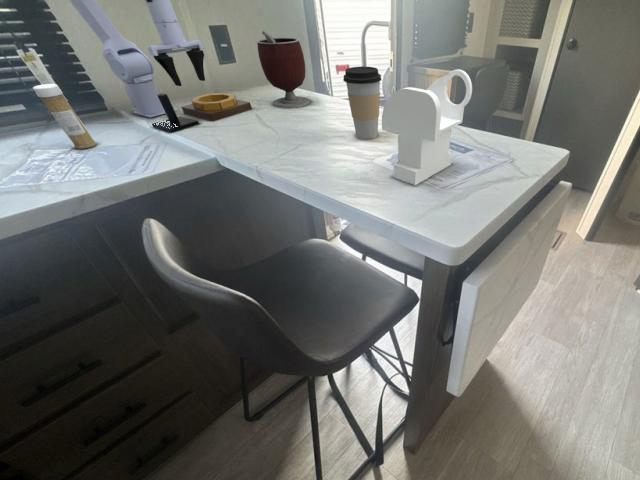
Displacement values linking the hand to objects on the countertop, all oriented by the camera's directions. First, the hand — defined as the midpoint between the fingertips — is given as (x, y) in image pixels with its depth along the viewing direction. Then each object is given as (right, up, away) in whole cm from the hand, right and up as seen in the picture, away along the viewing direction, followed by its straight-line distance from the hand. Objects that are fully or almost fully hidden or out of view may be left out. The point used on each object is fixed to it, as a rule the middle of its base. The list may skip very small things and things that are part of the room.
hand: (190, 82), depth 93 cm
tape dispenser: (+68, -36, -23) cm, 81 cm away
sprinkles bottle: (-20, -24, -11) cm, 34 cm away
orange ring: (+2, -1, +9) cm, 9 cm away
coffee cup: (+53, -19, -6) cm, 57 cm away
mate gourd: (+24, +4, +17) cm, 30 cm away
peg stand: (-4, -13, 0) cm, 13 cm away
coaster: (+2, -2, +10) cm, 11 cm away
